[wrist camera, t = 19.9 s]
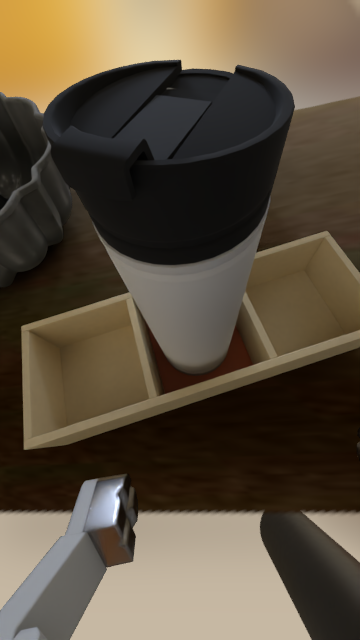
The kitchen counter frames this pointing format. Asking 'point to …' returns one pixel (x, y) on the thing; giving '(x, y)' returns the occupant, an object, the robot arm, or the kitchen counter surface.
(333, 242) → the organiser
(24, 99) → the bundt pan
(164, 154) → the travel mug
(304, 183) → the kitchen counter surface
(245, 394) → the kitchen counter surface
